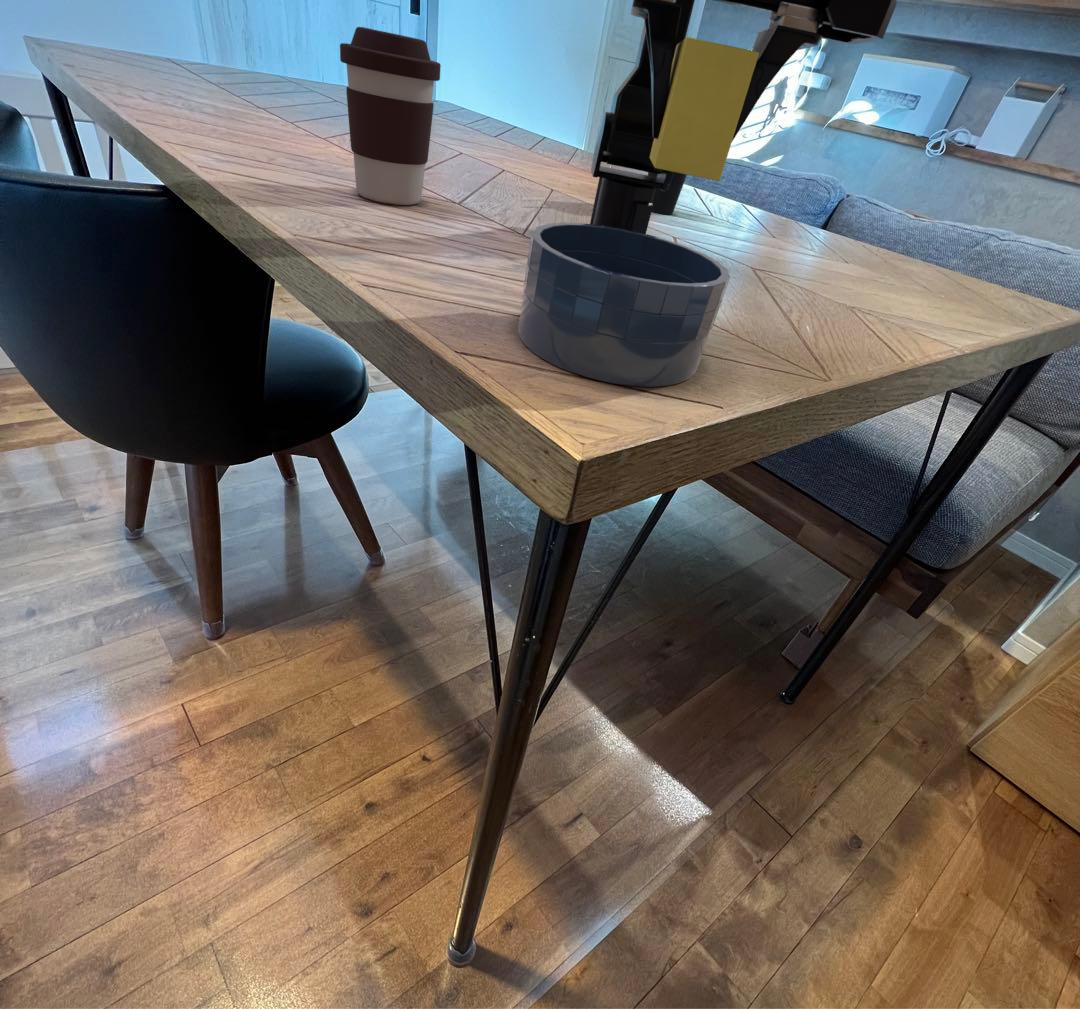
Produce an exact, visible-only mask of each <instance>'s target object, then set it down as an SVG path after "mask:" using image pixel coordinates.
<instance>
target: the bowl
mask: <svg viewBox="0 0 1080 1009" xmlns="http://www.w3.org/2000/svg"><path fill="white" fill-rule="evenodd" d="M730 279H731V275H730V272H729V270H728V269H727V268H726V267H725V266H724V265H723V264H721V263H720V262H719V261H718V260H716V259H714V258H712V257H710V256H709V255H707V254H705V253H703V252H701V251H699V250H696V249H694V248H692V247H689V246H686V245H684V244H681V243H678V242H675V241H672V240H669V239H667V238H666V239H665V238H663V237H659V236H654V235H653V234H649V233H648V234H647V233H646V234H644V233H640V232H635V231H631V230H626V229H621V228H615V227H609V226H602V225H594V224H590V223H583V222H555V223H546V224H542V225H539V226H536V227H535V228H534V229H533V231H531V234H530V239H529V247H528V253H527V261H526V267H525V273H524V280H523V292H522V297H521V298H522V299H521V305H520V306H521V307H520V312H519V319H518V326H517V333H518V336H519V339H520V340H521V342H522V343H523V344H524V345H525V346H526V348H527V349H528V350H530V352H532V353H533V354H535V356H538V357H539V358H541V359H542V360H544V361H546V362H547V363H549V364H551V365H553V366H555V367H557V368H560V369H562V370H565V371H567V372H570V373H572V374H575V375H578V376H581V377H585V378H588V379H591V380H595V381H599V382H604V383H609V384H613V385H620V386H629V387H641V388H642V387H643V388H652V387H653V388H655V387H656V388H658V387H666V386H673V385H678V384H680V383H683V382H685V381H688V380H690V379H691V378H692V377H693V376H694V375H695V374H696V372H697V370H698V367H699V365H700V361H701V360H702V356H703V353H704V351H705V347H706V344H707V342H708V339H709V335H710V333H711V331H712V329H713V327H714V325H715V322H716V319H717V316H718V314H719V311H720V308H721V304H722V302H723V299H724V297H725V293H726V292H727V291H726V290H727V287H728V286H729V282H730Z"/></svg>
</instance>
